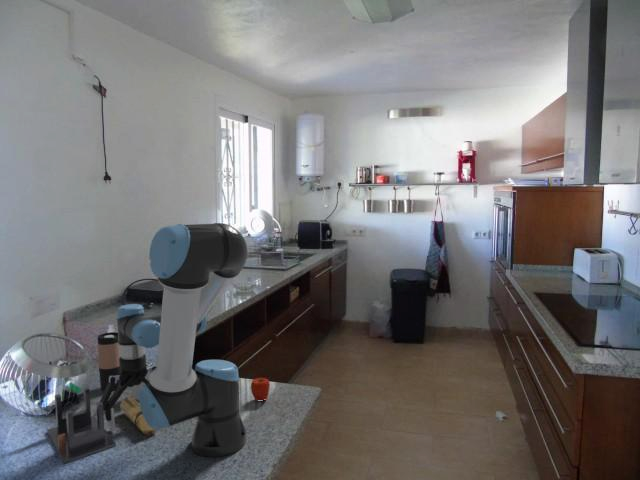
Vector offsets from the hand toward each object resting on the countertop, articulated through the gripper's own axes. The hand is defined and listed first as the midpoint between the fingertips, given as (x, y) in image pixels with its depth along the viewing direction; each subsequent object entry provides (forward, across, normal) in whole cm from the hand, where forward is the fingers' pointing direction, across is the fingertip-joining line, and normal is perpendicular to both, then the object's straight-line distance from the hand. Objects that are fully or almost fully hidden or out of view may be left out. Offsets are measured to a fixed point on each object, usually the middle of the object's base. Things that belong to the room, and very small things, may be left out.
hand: (135, 422), depth 140 cm
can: (+1, -9, -18) cm, 20 cm away
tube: (0, 0, 0) cm, 0 cm away
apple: (+1, -38, +12) cm, 40 cm away
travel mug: (+1, -3, -34) cm, 34 cm away
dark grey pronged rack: (0, +15, -2) cm, 15 cm away
